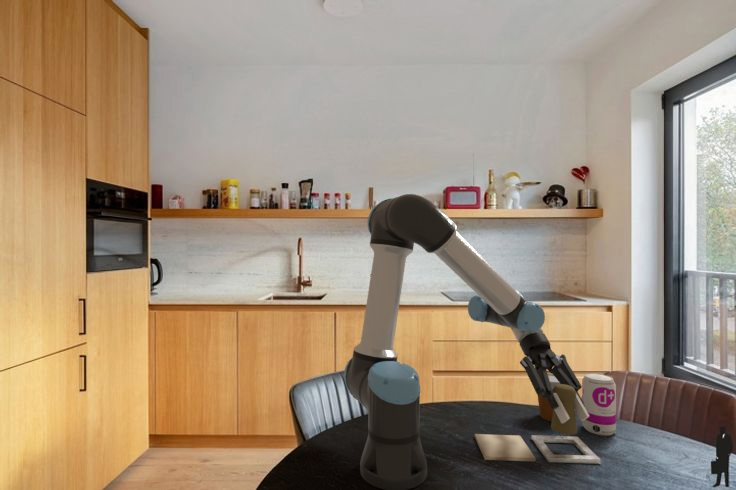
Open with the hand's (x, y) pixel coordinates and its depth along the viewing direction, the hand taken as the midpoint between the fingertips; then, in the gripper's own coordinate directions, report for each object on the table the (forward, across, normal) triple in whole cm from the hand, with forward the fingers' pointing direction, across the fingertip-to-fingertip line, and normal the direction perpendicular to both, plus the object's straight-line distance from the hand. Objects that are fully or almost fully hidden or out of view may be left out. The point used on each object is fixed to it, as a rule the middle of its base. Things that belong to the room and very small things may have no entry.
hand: (575, 419), depth 99 cm
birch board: (0, +14, -13) cm, 19 cm away
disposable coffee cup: (-9, -12, -22) cm, 26 cm away
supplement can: (-1, -18, -14) cm, 23 cm away
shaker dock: (+4, 0, -9) cm, 10 cm away
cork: (0, 0, -6) cm, 6 cm away
